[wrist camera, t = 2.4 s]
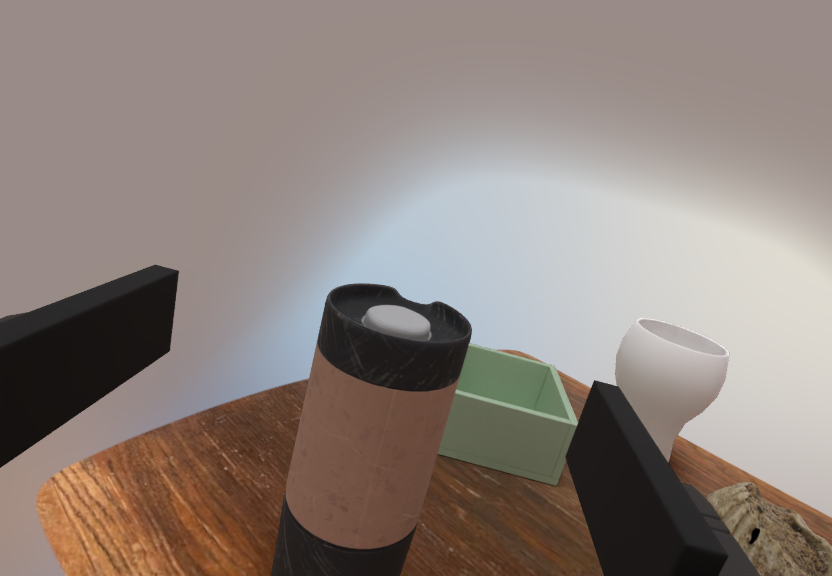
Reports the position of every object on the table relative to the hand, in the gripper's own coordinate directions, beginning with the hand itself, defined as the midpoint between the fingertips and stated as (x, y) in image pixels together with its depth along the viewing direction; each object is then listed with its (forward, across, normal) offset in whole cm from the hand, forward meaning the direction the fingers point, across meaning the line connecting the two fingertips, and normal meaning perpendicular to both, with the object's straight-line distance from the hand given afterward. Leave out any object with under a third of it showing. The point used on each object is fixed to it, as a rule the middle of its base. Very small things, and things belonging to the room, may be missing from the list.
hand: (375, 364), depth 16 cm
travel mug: (+10, 0, -22) cm, 24 cm away
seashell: (+25, +35, -22) cm, 48 cm away
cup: (+39, +29, -22) cm, 53 cm away
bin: (+36, +11, -21) cm, 43 cm away
